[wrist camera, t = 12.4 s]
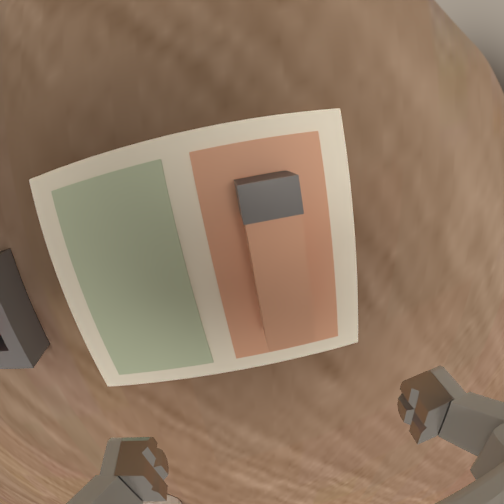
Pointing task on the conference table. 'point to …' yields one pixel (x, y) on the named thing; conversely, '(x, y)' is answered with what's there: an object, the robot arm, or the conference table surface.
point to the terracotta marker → (278, 256)
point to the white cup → (171, 501)
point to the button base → (17, 320)
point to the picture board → (196, 246)
